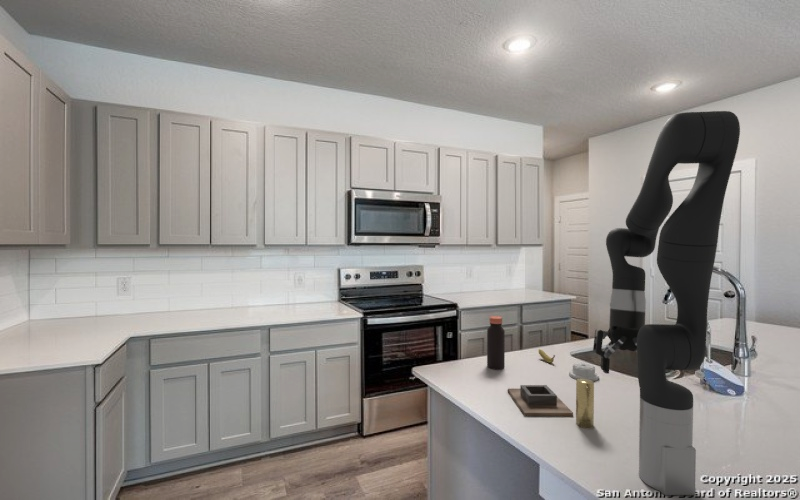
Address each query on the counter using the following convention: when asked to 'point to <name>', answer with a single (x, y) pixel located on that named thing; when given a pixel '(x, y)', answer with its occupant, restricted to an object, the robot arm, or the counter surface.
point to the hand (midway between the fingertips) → (624, 375)
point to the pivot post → (585, 403)
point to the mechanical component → (583, 372)
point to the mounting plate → (539, 401)
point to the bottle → (495, 344)
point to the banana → (546, 356)
